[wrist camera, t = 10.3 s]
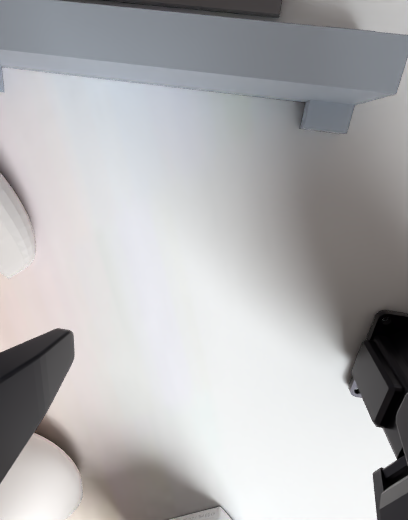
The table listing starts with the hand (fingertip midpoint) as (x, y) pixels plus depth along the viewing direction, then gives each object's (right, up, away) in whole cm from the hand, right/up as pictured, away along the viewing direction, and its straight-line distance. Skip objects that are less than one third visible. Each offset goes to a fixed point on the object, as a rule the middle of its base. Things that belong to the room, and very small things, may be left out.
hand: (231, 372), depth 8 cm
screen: (-4, +13, +7) cm, 15 cm away
